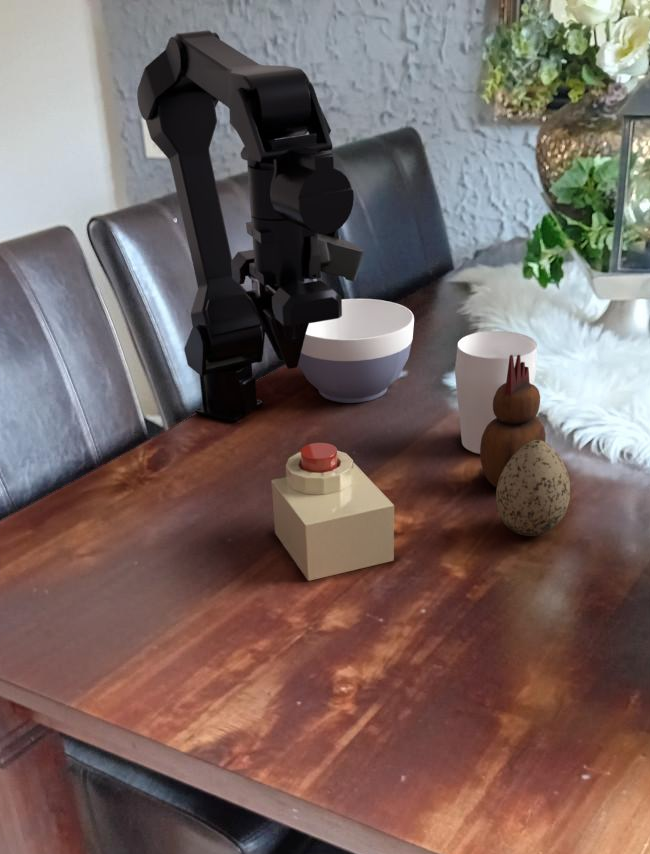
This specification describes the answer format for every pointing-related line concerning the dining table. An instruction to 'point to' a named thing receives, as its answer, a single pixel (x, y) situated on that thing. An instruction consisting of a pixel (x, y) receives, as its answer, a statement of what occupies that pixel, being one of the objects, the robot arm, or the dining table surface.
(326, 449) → the red push button
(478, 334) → the cup
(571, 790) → the dining table surface
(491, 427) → the wooden figurine
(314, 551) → the button base
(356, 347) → the bowl
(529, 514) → the decorative egg
